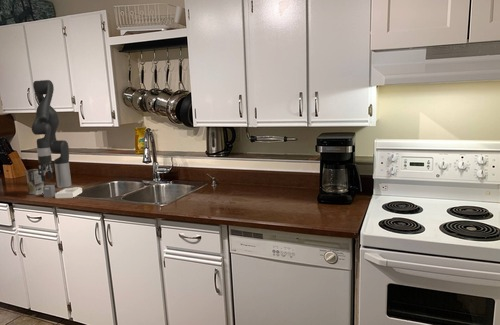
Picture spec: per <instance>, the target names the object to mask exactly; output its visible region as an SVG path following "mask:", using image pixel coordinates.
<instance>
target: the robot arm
mask: <svg viewBox="0 0 500 325" xmlns="http://www.w3.org/2000/svg"><path fill="white" fill-rule="evenodd" d="M32 87H33V91H34V94H35V96H36V100H37V102H38V105H37V108H36V114H35V119H34V122H33V123H32V126H31V132H32V134H34V135H35V136H36V135H39V136H40V135H41V136H42V135H43V137H40V138H38V139H36V147H37V153H36V154H37V161H38V163H39V165H37V169H38V174H39V175H41V180H42V181H44V182H46V173H47V175H48V179H53V172H55V178H56V179H55V180H56V187H57V188H58V189H65V188H71V187H72V178H71V169H70V161H69V160H70V153H69V152H70V151H69V150H70V149H69V143H68V142H67V141H66V140H62V139H61V140H58V139H57V137H56V132H57V130H58V127H59V124H60V119H59V116H58V112H57V110H56V109H55V108H53V107H52V106H51V103H52V101H53V100H52V99H53V94H54V91H55V89H54V82H52V81H51V80H49V79H44V80H43V79H42V80H41V79H40V80H34V81H33V83H32ZM52 153H53V154H57V155H58V154H60V156H59V157H57V158H55V159H54V160H52ZM52 161H53V162H54V163H53V162H52ZM40 172H41V173H40Z"/></svg>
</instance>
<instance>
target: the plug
mask: <svg viewBox="0 0 500 325" xmlns="http://www.w3.org/2000/svg"><path fill="white" fill-rule="evenodd" d="M55 186H56V185H55V184H46V185H44V186H43V198H53V197H55V193H56V187H55Z"/></svg>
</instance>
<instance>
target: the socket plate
mask: <svg viewBox="0 0 500 325" xmlns="http://www.w3.org/2000/svg"><path fill="white" fill-rule="evenodd" d="M82 193H83V188H82V187H80V186H78V187H77V186H75V187H74V186H73V187H65V188H62V189H61V190H59V191H57V192H55V196H54V197H55V199H73V197H74V198H75V197H77V196H78V195H80V194H82Z"/></svg>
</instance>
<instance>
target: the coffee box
mask: <svg viewBox="0 0 500 325" xmlns="http://www.w3.org/2000/svg"><path fill="white" fill-rule="evenodd" d="M40 173H41V172H40ZM25 176H26V183H27V190H28V194H29V195H35V196H39V195H42V193H43V186H45V181H42V180H41V175H39V174H38V168H31V169H27V170H26V169H25ZM43 194H44V193H43Z"/></svg>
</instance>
